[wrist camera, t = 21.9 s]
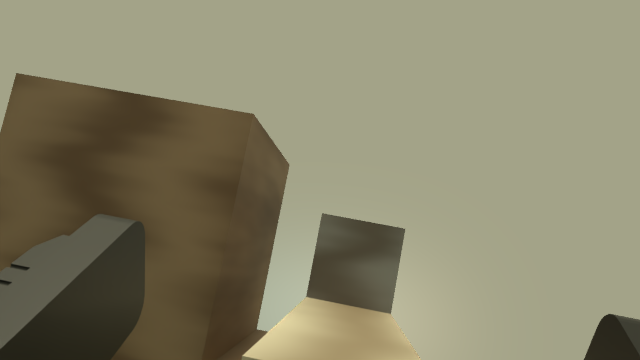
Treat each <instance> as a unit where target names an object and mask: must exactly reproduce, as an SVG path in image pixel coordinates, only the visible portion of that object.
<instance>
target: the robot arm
mask: <svg viewBox="0 0 640 360" xmlns="http://www.w3.org/2000/svg"><path fill="white" fill-rule="evenodd" d="M144 297H145V229H144V226H143V224H142V223H141V222H140V221H135V220H130V219H125V218H120V217H115V216H109V215H104V214H97V215H95V216H94V217H92V218H91V219H90V220H89V221H87V222H86V223H85V224H84V225H82V226H81V227H80V228H79V229H78V230H76V231H75V232H74V233H73V234H71V235H70V236H67V235H61V236H59V237H56V238H54V239H51V240H49V241H46V242H44V243H41V244H39V245H36V246H34V247H32V248H31V249H30V250H28V251H27V252H26V253H24V254H23V255H22V256H20V257H19V258H18V259H16V260H15V261H14V262H12V263H11V266H10V268H9V267H6V268H4V269H3V270H2V271H1V272H0V360H111V359H112V357H113V356H114V355H115V353H116V352H117V351H118V349H119V348H120V347H121V345H122V344H123V343H124V341H125V340H126V339H127V337H128V336H129V335H130V333H131V332H132V331H133V329H134V328H135V326H136V324H137V322H138V320H139V317H140V315H141V312H142V308H143V304H144ZM584 360H640V320H638V319H633V318H628V317H623V316H618V315H613V314H608V315H606V316H604V317H603V318H602V319H601V321H600V323H599V325H598V327H597V329H596V332H595V334H594V336H593V339H592V341H591V344H590V346H589V349H588V351H587V354H586V356H585V358H584Z"/></svg>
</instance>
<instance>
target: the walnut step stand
mask: <svg viewBox="0 0 640 360" xmlns="http://www.w3.org/2000/svg"><path fill="white" fill-rule="evenodd" d="M288 169H289V164H288V162H287V161H286V159H285V158H284V156H283V155H282V154H281V152H280V151H279V149H278V148H277V147H276V145H275V144H274V142H273V141H272V139H271V138H270V137H269V135H268V134H267V132H266V131H265V130H264V128H263V127H262V125H261V124H260V123H259V121H258V120H257V118H256V117H255V115H254V114H250V113H244V112H238V111H233V110H227V109H222V108H215V107H210V106H204V105H198V104H192V103H187V102H181V101H175V100H169V99H164V98H158V97H151V96H146V95H140V94H134V93H128V92H123V91H117V90H111V89H105V88H99V87H94V86H88V85H82V84H76V83H70V82H65V81H59V80H53V79H47V78H41V77H35V76H29V75H24V74H18V73H16V77H15V80H14V84H13V88H12V92H11V95H10V99H9V102H8V106H7V110H6V114H5V117H4V121H3V125H2V129H1V132H0V272H1V271H2V270H3V269H4V268H6V267H9V268H10V266H11V263H12V262H14V261H15V260H16V259H18V258H19V257H20V256H22V255H23V254H24V253H26V252H27V251H28V250H30V249H31V248H32V247H34V246H36V245H39V244H41V243H44V242H46V241H49V240H51V239H54V238H56V237H59V236H61V235H67V236H70V235H71V234H73V233H74V232H75V231H76V230H78V229H79V228H80V227H81V226H82V225H84V224H85V223H86V222H87V221H89V220H90V219H91V218H92V217H94V216H95V215H97V214H104V215H109V216H115V217H120V218H125V219H130V220H135V221H140V222H141V223H142V224H143V226H144V229H145V297H144V304H143V308H142V312H141V315H140V317H139V320H138V322H137V324H136V326H135V328H134V329H133V331H132V332H131V333H130V335H129V336H128V337H127V339H126V340H125V341H124V343H123V344H122V345H121V347H120V348H119V349H118V351H117V352H116V353H115V355H114V356H113V357H112V359H111V360H242V356H243V355H244V354H245V353H246V352H247V351H248V350H249V349H250V348H251V347H252V346H254V345H255V344H256V343H257V342H258V341H259V340H260V339H261V338H262V337H263V336H264V335H266V334H267V333H268V332H267V331H262V330H257V324H258V319H259V314H260V309H261V304H262V299H263V294H264V289H265V284H266V279H267V274H268V269H269V264H270V259H271V254H272V249H273V244H274V239H275V234H276V229H277V224H278V219H279V214H280V209H281V204H282V199H283V194H284V189H285V184H286V179H287V174H288Z"/></svg>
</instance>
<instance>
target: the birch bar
mask: <svg viewBox="0 0 640 360" xmlns="http://www.w3.org/2000/svg"><path fill="white" fill-rule="evenodd" d="M404 233H405V229H403V228H398V227H392V226H387V225H382V224H376V223H371V222H365V221H360V220H354V219H350V218H344V217H339V216H333V215H327V214H322V217H321V222H320V228H319V233H318V238H317V244H316V249H315V254H314V259H313V265H312V270H311V275H310V281H309V285H308V291H307V296H306V298H305V299H304V300H303V301H301V302H300V303H299V304H298V305H297V306H296V307H295V308H294V309H293V310H292V311H291V312H290V313H288V314H287V315H286V316H285V317H284V318H283V319H282V320H281V321H280V322H279V323H278V324H276V325H275V326H274V327H273V328H272V329H271V330H270V331H269V332H268V333H267V334H266V335H264V336H263V337H262V338H261V339H260V340H259V341H258V342H257V343H256V344H255V345H254V346H252V347H251V348H250V349H249V350H248V351H247V352H246V353H245V354H244V355H243V356H242V360H421V359H420V357H419V356H418V354H417V353H416V351H415V350H414V348H413V347H412V345H411V344H410V342H409V341H408V340H407V338H406V336H405V335H404V333H403V332H402V330H401V329H400V327H399V326H398V324H397V323H396V321H395V320H394V318H393V317H392V315H391V309H392V303H393V298H394V292H395V286H396V280H397V274H398V268H399V262H400V256H401V250H402V245H403V239H404Z"/></svg>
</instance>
